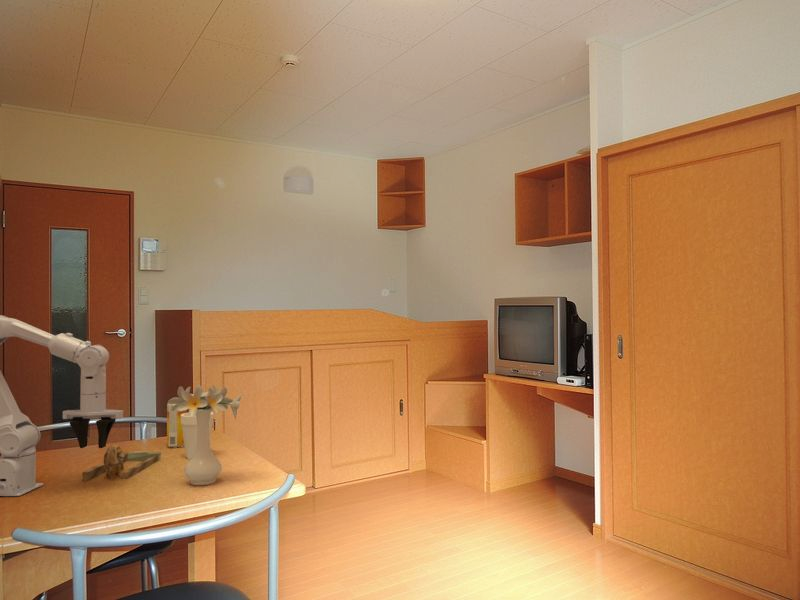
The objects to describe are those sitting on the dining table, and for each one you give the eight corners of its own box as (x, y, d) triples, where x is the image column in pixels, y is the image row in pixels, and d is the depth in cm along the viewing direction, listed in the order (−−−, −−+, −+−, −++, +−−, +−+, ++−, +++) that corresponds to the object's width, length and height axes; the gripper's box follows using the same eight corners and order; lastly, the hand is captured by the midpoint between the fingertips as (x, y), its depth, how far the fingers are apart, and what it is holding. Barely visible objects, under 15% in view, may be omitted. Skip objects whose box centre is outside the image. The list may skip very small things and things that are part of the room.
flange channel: (123, 481, 153) (123, 471, 153) (82, 480, 153) (82, 471, 153) (160, 459, 176) (160, 451, 176) (125, 459, 176) (125, 451, 176)
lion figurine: (126, 479, 155) (126, 445, 155) (103, 482, 152) (103, 447, 152) (124, 466, 168) (124, 435, 168) (103, 469, 165) (103, 436, 166)
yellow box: (189, 444, 196) (189, 399, 197) (183, 448, 190) (183, 401, 191) (170, 444, 196) (171, 399, 196) (164, 448, 190) (164, 402, 190)
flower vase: (246, 483, 151) (246, 385, 151) (169, 493, 143) (169, 390, 143) (237, 471, 162) (237, 380, 163) (165, 479, 154) (166, 384, 155)
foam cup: (197, 452, 185) (197, 410, 185) (219, 455, 181) (219, 412, 181) (173, 458, 177) (173, 415, 177) (196, 462, 173) (196, 417, 173)
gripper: (129, 391, 153) (128, 443, 152) (74, 391, 153) (73, 443, 153) (115, 395, 146) (114, 450, 145) (57, 395, 146) (57, 449, 146)
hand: (92, 447), depth 148 cm, fingers open, 4 cm apart
